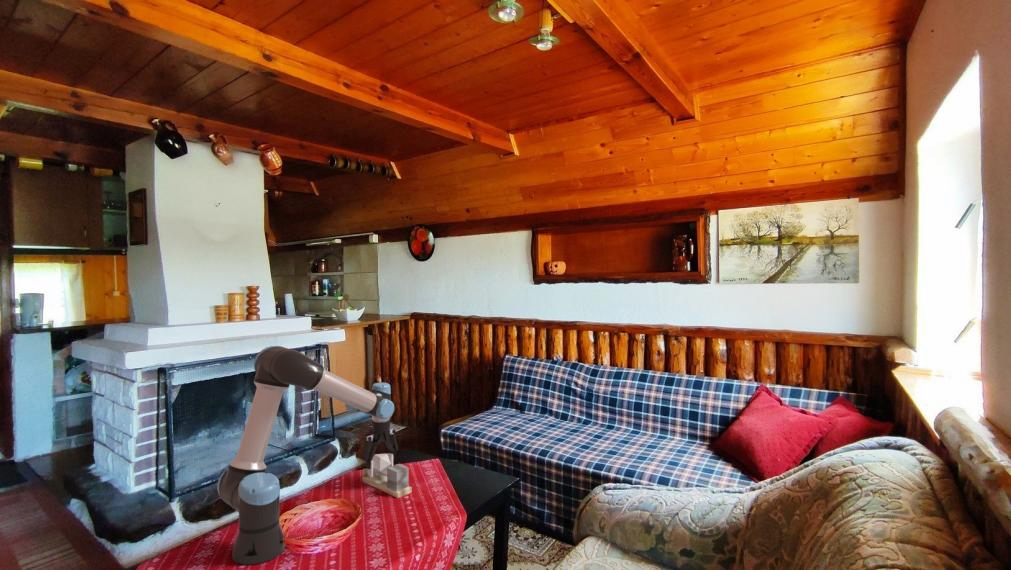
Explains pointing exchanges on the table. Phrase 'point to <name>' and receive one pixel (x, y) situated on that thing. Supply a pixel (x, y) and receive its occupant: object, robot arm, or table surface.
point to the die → (380, 464)
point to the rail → (384, 488)
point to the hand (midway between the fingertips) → (380, 472)
